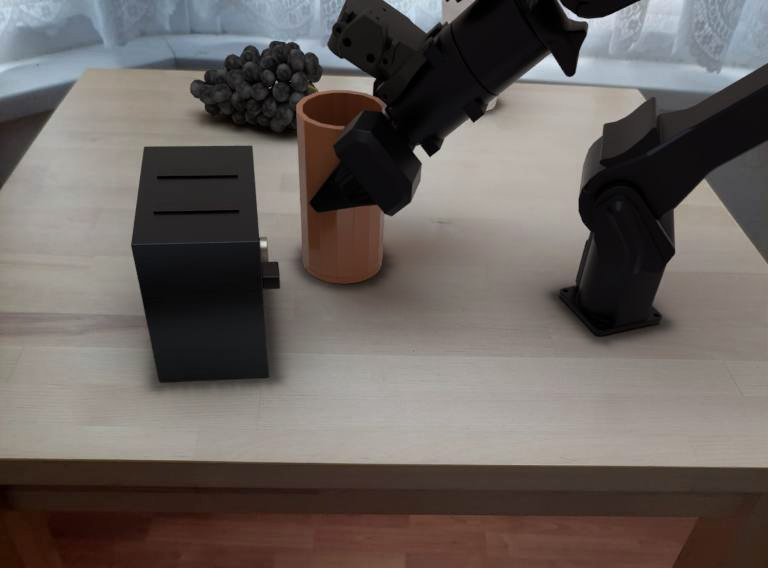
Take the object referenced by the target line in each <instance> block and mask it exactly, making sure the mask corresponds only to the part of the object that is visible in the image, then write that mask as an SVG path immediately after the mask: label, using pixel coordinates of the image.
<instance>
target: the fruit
mask: <svg viewBox="0 0 768 568" xmlns="http://www.w3.org/2000/svg"><path fill="white" fill-rule="evenodd" d="M319 59H320V58H319V57H318V56H317V55H316V54H315V53H314V52H312V51H311V52H310V51H308V52H306V53H305V52H304V51H302V49H301V46H300V45H299V44H298V43H297V42H294V41H289V42H285V41H282V40H281V41H280V40H272V41H270V42H269V44H268V47H267V48H264V49H262V51H261V53H260V51H259V49H258V48H257V47H256V46H254V45H251V44H249V45H246V46H245V47H244V48H243V50H242V52H241V53H240V55H238V54H237V55H236V54H234V53H231V54H228V55H226V57H225V59H224V64H223V65H224V68H221V69H218V70H217V69H215V68H210V69H207V70H205V72H204V75H203V79H194V80H193V81H192V82H190V85H189V93H190V94H191V96H192V97H193V98H194V99H198V100H199V101H200V102H201V103H203V105H204V111H205V112H206V114H208V115H209V116H211V117H218V116H220V114H221V115H222V116H223V117H225V118H227V119H232V121H233V122H234V124H237V125H239V126H242V125H244V124H245V123H246V122H248V123H249V124H252V125H256V124H257V123H258V124H259V125H260V126H262V127H265V128H270V129H271V131H272V132H275V133H282V132H283V131H284V130H285V129H286V128H289V129H290V130H294V129H295V130H297V116H296V105H297V104H298V102H299V101H300V100H301V99H302V98H304V97H306V96H309V95H311V94H313V93H317V92H320V91H319V88H316V86H315V84H317V83H319V82H320V81H321V79H322V76H323V72H324V69H323V67H322V65H321V64H320V60H319ZM276 82H277V83H276Z"/></svg>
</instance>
